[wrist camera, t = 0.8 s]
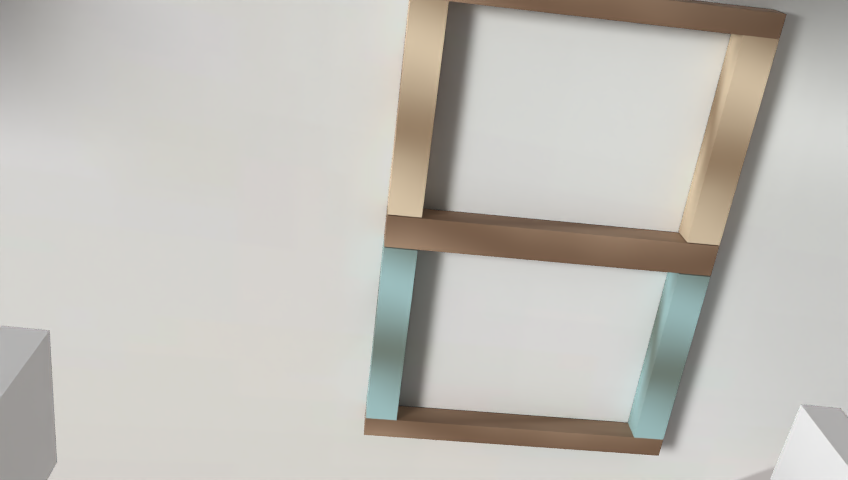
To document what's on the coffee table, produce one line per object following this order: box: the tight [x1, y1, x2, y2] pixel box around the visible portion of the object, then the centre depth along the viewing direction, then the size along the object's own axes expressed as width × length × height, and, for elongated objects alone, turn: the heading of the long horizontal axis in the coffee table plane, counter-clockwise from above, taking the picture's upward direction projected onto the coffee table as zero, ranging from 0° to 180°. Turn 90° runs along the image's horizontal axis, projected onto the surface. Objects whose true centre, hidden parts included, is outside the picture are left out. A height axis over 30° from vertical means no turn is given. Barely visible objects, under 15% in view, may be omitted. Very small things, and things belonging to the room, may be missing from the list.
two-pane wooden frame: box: [364, 0, 786, 456], centre depth 37 cm, size 22×15×1 cm
